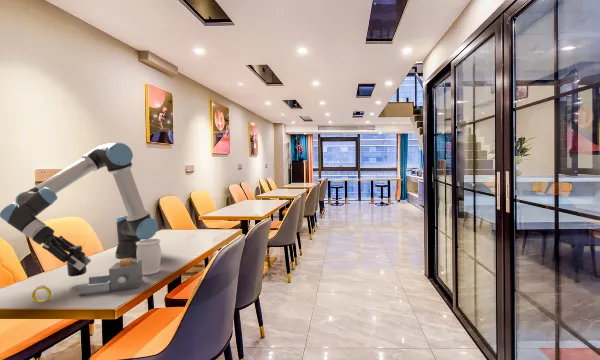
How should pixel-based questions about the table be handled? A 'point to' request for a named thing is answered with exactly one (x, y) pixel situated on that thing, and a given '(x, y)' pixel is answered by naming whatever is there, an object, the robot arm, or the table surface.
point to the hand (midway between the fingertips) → (85, 265)
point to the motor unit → (115, 278)
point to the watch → (41, 288)
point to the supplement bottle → (79, 255)
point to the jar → (149, 255)
